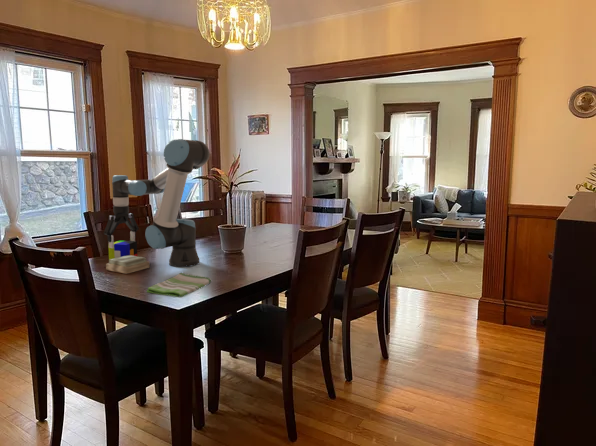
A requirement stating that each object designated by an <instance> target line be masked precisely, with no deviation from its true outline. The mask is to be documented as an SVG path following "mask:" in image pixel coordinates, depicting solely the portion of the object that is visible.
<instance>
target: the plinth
mask: <svg viewBox="0 0 596 446" xmlns="http://www.w3.org/2000/svg"><path fill="white" fill-rule="evenodd" d="M149 268H150V261H148V260H147V257H144V256H138V255H137V256H132V255H127V256H123V257H118V258H114V259H109V258H108V263H105V270H106V271H111V272H116V273H122V274H131V273H134V272H138V271H142V270H146V269H149Z"/></svg>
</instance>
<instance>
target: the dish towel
mask: <svg viewBox="0 0 596 446" xmlns="http://www.w3.org/2000/svg"><path fill="white" fill-rule="evenodd" d="M210 282H212V278H210V277H208V276H203V275H202V276H201V275H195V274H188V273H187V274H186V273H185V272H180V273H178V274H177V275H175V276H173V277H170V278H168V279H166V280H165V281H161V282H158V283H156V284H153V285H151V286H148V287H147V290H146V293H151V294H156V295H157V294H158V295H164V296H171V297H179V298H182V297H184V296H186V295H188V294H191V293H193V292H195V291H198V290H199V288H200V289H201V287H202V288H204V287H205V285H206V286H208V284H211V283H210Z"/></svg>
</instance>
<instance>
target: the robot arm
mask: <svg viewBox="0 0 596 446" xmlns="http://www.w3.org/2000/svg"><path fill="white" fill-rule="evenodd" d="M210 155H211V153H210V149H209V147H208V146H207V144H205V143H204V142H203V141H201V140H197V139H195V140H191V139H182V138H178V139H177V138H176V139H172V140H170V141H169V142H167V143H166V145H165V147H164V149H163V157H164V158H163V159H164V162H166V168H165V169H164V170H162V171H161V172H160V173H158V174H157V175H155V176H153V177H152V178H150V179H136V180H135V179H129V176H128V175H125V174H124V175H122V174H119V175H118V174H116V175H115V174H114V175H113V176H112V177H111V178H112V179H111V181H112V182H111V184H112V186H111V187H112V204H113V206H112V207H113V208H112V209H113V214H114V215H109V216H108V219H107V223H106V226H105V228H104V231H103V235H106V237H107V242H108V244H109V248H114V242H115V240H114V235H113V234H114V232H115V231H116V229H117V228H118V226H119V225H121V224H125V225H126V226H127V227H128V229H130V232H129V237H130V238H129V241H136V237H137V235H136V234H137V232H138V231H139V225H138V224H137V222H136V219H135V216H134V213H131V212H130V206H129V204H130V202H129V197H130V196H135V197H138V196H140V197H142V196H145V195H159V194H162V193H163V194H162V197H161V203H160V206H159V211H158V214H157V216H156V217H154V218H153V221H152V224H151V225H149V226H147V227H146V229H145V236H144V237H145V239H146V242H147V244H148V245H149V247H151V248H153V249H155V250H159V249H161V250H163V249H166V248H170V247H171V248H172V249H171V252H170V253H171V254H170V256H169V259H168V264H169V266H171V267H178V268H181V267H182V268H185V267H186V268H187V267H194V266H197V265H199V264H200V257H199V254H198V251H197V248H196V245H197V244H196V243H197V242H196V231H197V229H196V228H197V227H196V222H195V220H192V219H183V218H178V214H179V212H180V211H179V210H180V207H181V203H182V198H183V194H184V191H185V187H186V182H187V179H188V175H189V174H191V173H193V170H198V169H200V168H201V167H203V166H204V165H206V164H207V162H208V161H209V160H210ZM129 212H130V213H129Z"/></svg>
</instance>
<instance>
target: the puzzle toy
mask: <svg viewBox="0 0 596 446" xmlns="http://www.w3.org/2000/svg"><path fill="white" fill-rule="evenodd" d="M107 245H108V260H109V259H114V258H118V257H123V256H127V255H132V256H138V241H136V240H135V241H130V240H117V241H114V248H109V243H107Z"/></svg>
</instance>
